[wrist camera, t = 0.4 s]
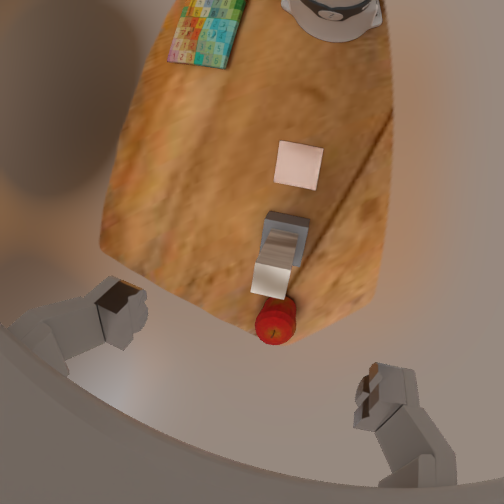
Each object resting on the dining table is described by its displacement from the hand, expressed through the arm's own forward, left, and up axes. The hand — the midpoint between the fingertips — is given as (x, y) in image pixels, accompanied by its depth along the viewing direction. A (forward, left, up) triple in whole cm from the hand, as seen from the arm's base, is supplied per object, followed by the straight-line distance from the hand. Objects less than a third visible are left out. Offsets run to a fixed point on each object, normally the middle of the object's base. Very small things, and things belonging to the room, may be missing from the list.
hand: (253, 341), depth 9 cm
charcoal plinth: (+15, -2, -47) cm, 50 cm away
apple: (+32, 0, -48) cm, 57 cm away
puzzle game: (-26, -22, -48) cm, 59 cm away
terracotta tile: (+1, -2, -47) cm, 47 cm away
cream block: (+15, -2, -42) cm, 45 cm away
